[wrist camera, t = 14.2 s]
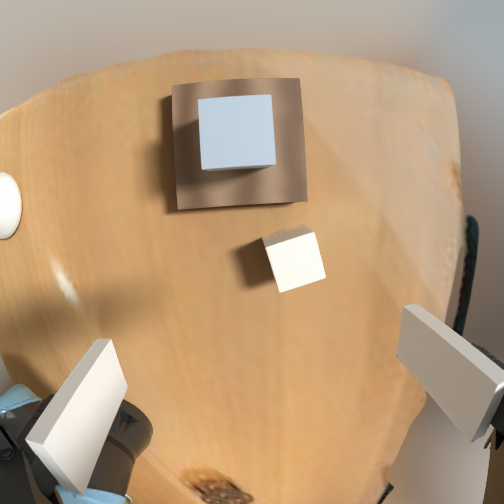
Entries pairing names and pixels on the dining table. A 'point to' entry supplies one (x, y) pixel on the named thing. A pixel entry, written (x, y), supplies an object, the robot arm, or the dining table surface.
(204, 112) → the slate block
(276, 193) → the walnut block
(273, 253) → the white cube
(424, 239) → the dining table surface
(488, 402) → the robot arm
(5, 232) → the flower in vase
